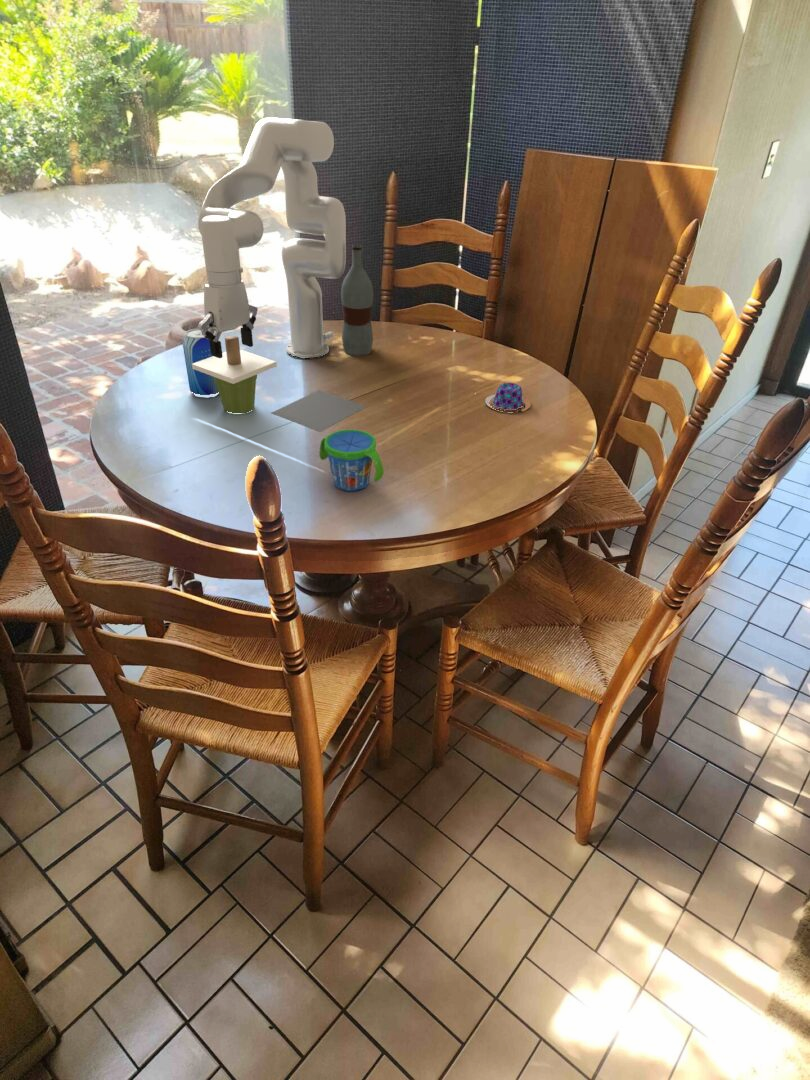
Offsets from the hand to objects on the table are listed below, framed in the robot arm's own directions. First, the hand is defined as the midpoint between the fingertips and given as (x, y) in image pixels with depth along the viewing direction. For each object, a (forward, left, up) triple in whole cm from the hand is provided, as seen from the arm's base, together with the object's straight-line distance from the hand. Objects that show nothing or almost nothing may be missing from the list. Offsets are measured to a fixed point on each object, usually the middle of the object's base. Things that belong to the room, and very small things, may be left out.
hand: (232, 350), depth 167 cm
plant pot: (0, 0, -16) cm, 16 cm away
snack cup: (+10, +44, -16) cm, 48 cm away
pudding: (-47, +51, -16) cm, 71 cm away
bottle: (-51, -3, -16) cm, 53 cm away
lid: (0, 0, -4) cm, 4 cm away
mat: (-12, +16, -15) cm, 25 cm away
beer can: (-2, -14, -16) cm, 21 cm away
